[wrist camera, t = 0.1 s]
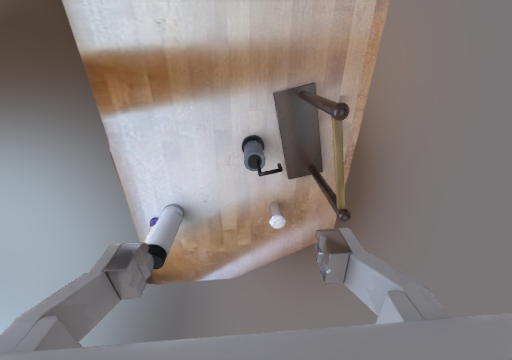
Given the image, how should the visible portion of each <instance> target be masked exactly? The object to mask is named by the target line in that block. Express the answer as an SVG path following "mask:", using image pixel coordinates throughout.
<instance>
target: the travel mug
mask: <svg viewBox="0 0 512 360" xmlns="http://www.w3.org/2000/svg"><path fill="white" fill-rule="evenodd" d="M183 216H184V211H183V209H182V208H181V207H179V206H177V205H168V206H166V207H165V208H164V210H163V212H162V214H161V215H160V217H159V219H158V221H157V222H156V224H155V226H154V228H153V229H152V231H151V233H150V235H149V236H148V238H147V240H146V242H145V243H147V245H148V247H149V249H148V251H147V252H148V253H150V254H151V255H152V257H153V262H154V265H153V269H159V268H161V267H162V266H163V264H164V262H165V259H166V257H167V255H168V253H169V250H170V248H171V246H172V243H173V241H174V238H175V236H176V233H177V231H178V229H179V226H180V224H181V221H182V219H183Z"/></svg>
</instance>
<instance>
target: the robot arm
mask: <svg viewBox="0 0 512 360" xmlns="http://www.w3.org/2000/svg"><path fill="white" fill-rule="evenodd" d="M315 237H316V239H317V241H316V243H315V245H314V251H315V257H316V261H317V263H318V264H319V265H320V266H321V271H320V272H321V274H322V277H323V279H324V282H325V284H330V283H331V284H332V283H344V284H345V285H346V286H347V287H348V288H349V289H350V290H351V291H352V292H353V293H354V294H355V295H356V296H357V297H358V298H359V299H361V300H362V301H363V302H364V303H365V304H366V305H367V306H368V307H369V308H370V309H371V310H372V311H373V312H374V313H376V314H377V315H378V319H377V322H376V324H371V325H357V326H345V327H332V328H320V329H307V330H294V331H282V332H269V333H257V334H245V335H231V336H219V337H206V338H194V339H181V340H169V341H156V342H144V343H132V344H117V345H105V346H93V347H82V346H81V345H80V343H79V341H80V340H82V339H83V338H84V337H85V336H86V335H87V334H88V333H89V332H90V331H91V330H92V329H93V328H94V327H95V326H96V325H97V324H98V323H99V322H100V321H101V320H102V319H103V318H104V317H105V316H106V315H107V314H108V313H109V312H110V311H111V310H112V309H113V308H114V307H115V306H116V305H117V304H118V303H119V302H120V301H121V300H122V299H132V298H140V297H141V295H142V292H143V290H144V288H145V286H146V282H145V280H146V279H147V278H148V277H149V276H150V275H151V273H152V270H153V265H154V262H153V257H152V255H151V254H150V253H148V252H147V251H148V249H149V247H148V245H147V243H145V242H141V243H123V244H112V245H110V246H109V247H108V249H107V250H106V251H105V252H104V254H103V255H102V256H101V258H100V259H99V260H98V261H97V263H96V264H95V265H94V267H93V268H92V269H91V271H90V272H89V273H85V274H83V275H82V276H80V277H79V278H77V279H75V280H74V281H73V282H71V283H69V284H68V285H66V286H65V287H63V288H62V289H60V290H59V291H57V292H55V293H54V294H52V295H51V296H50V297H48V298H46V299H45V300H43V301H42V302H40V303H39V304H37V305H35V306H34V307H32V308H31V309H29V310H28V311H26V312H25V313H23V314H22V315H20V316H18V317H17V318H16V319H15V320H14V321H13V322H12V323H11V324H10V326H9V327H8V328H7V329H6V330H5V331H4V332H3V333H2V334H1V335H0V360H512V313H509V314H496V315H484V316H472V317H459V318H452V317H451V316H450V315H449V314H448V313H447V312H446V310H445V309H444V308H443V307H442V305H441V304H440V303H439V302H438V301H437V299H436V298H435V297H434V296H433V295H432V293H431V292H430V291H429V290H428V289H427V287H425V286H424V285H422V284H420V283H419V282H417V281H415V280H414V279H412V278H410V277H409V276H407V275H405V274H404V273H402V272H400V271H399V270H397V269H395V268H394V267H392V266H390V265H389V264H387V263H385V262H384V261H382V260H380V259H379V258H377V257H375V256H374V255H372V254H370V253H366V252H365V251H364V249H363V248H362V246H361V245H360V243H359V242H358V241H357V239H356V237H355V236H354V234H353V233H352V231H351V230H350V229H349V228H338V229H326V230H317V231H316V235H315Z"/></svg>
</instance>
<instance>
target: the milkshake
mask: <svg viewBox="0 0 512 360" xmlns="http://www.w3.org/2000/svg"><path fill="white" fill-rule="evenodd" d="M269 212H270V225H271V226H272V227H273V228H276V229H278V228H282V227H283V226H284V225H285V223H286V221H287V220H286V219H285V218H284V215H283V213H282V210H281V208H280V205H279V203H277V202H271V203H270V205H269Z"/></svg>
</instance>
